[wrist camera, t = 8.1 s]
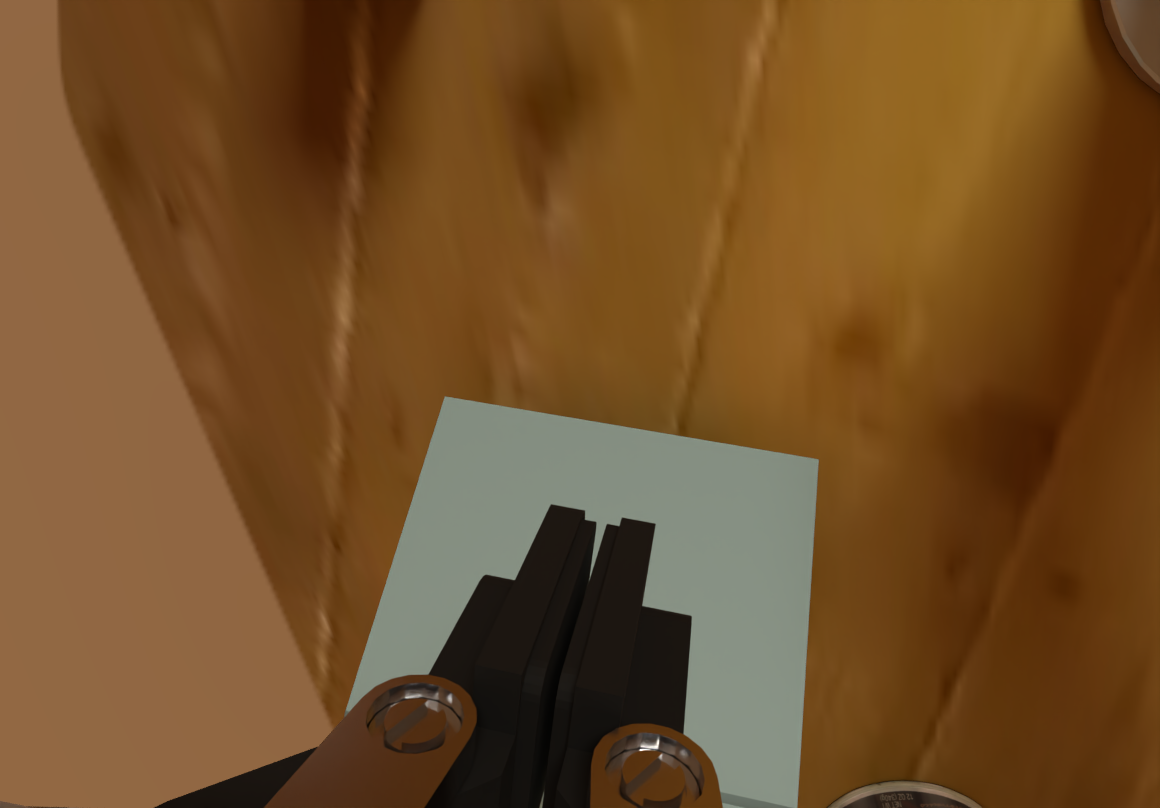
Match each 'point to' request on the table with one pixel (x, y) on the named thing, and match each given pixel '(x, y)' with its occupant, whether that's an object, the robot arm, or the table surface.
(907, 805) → the coffee can
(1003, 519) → the table surface
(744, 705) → the flap
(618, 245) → the table surface
